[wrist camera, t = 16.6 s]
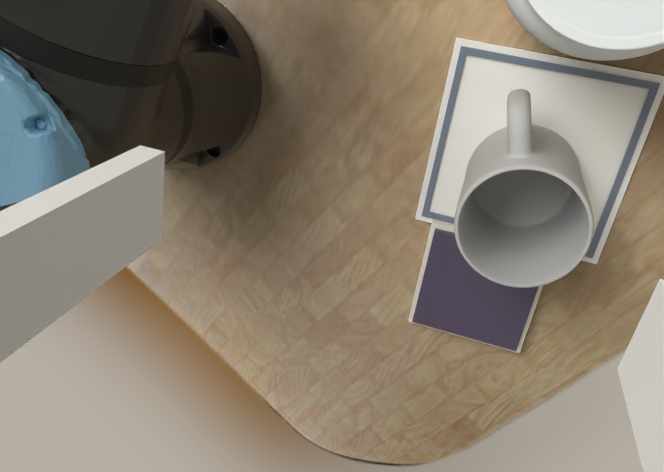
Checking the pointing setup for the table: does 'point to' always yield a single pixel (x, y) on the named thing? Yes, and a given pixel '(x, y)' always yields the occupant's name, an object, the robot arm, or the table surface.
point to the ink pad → (468, 297)
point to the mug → (523, 204)
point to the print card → (542, 122)
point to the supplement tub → (594, 26)
